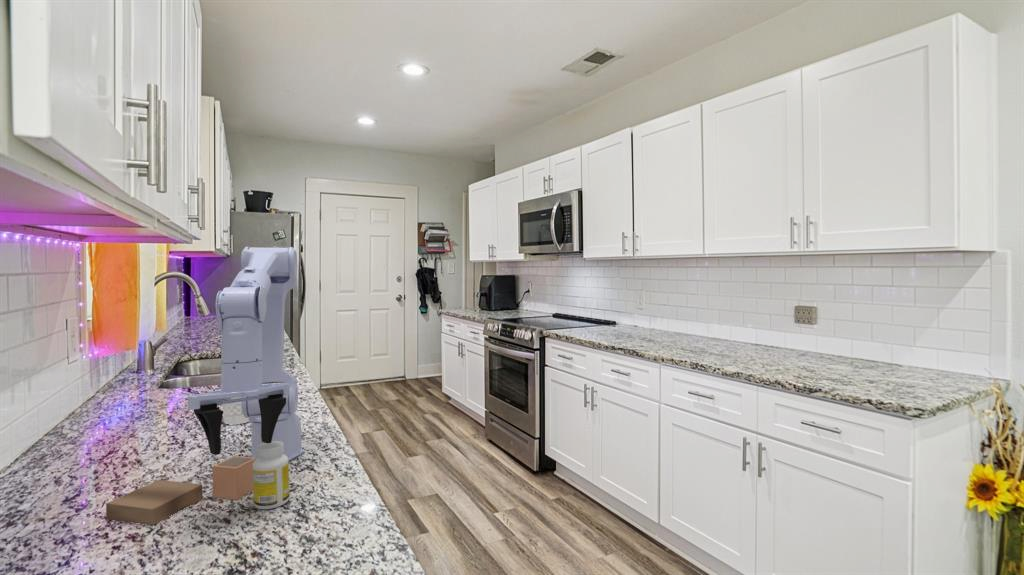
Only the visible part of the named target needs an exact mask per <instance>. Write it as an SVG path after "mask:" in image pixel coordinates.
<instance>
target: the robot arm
mask: <svg viewBox="0 0 1024 575" xmlns="http://www.w3.org/2000/svg"><path fill="white" fill-rule="evenodd" d="M240 254H241V255H240V256H241V257H240V265H241V266H240V267H241V270H240V271H239V272H237V275H236V276H235V277H234V280H233V281H232V282H231V285H230V286H228V287H227V286H226V287H224V288H223V289H222V290H219V291H218V292H217V294H216V297H215V313H216V314H215V315H216V319H217V330H218V334H221V336H220V337H221V339H220V342H221V344H220V345H221V347H220V349H221V351H220V354H221V355H220V357H221V359H220V361H221V362H220V364H221V365H220V366H221V368H220V370H221V371H220V374H221V376H220V384H221V385H220V389H219V390H214V391H208V392H203V393H197V394H192V395H191V394H190V395H187V409H189V410H192V411H193V413H194V415H195V416H196V419H197V420H198V422H199V423H200V425H201V427H202V429H203V431H204V433H205V436H206V439H207V443H208V447H209V451H210V454H212V455H213V456H218V455H221V453H222V452H221V451H222V441H221V440H222V438H221V433H222V421H223V418H224V417H223V415H224V414H223V409H220V407H219V406H222V404H229V403H236V402H241V409H242V414H243V415H244V416H245V417H246V418H249V423H250V424H251V427H250V428H251V430H250V431H251V457H252V458H259V457H258V456H257V447H258V446H259V445H260V444H263V443H267V444H268V443H271V442H272V441H280V442H283V447H284V450H283V453H282V454H284V455H286V456H287V457H288V462H289V461H291V460H293V459H295V458H297V457H299V456H300V455H302V454H304V453H305V452H306V450H305V449H302V422H301V420H300V418H299V416H298V415H297V413H296V412H297V410H298V406H299V405H298V404H299V391H298V389H299V388H298V379H297V378H296V376H295V375H294V374H293V373H291V372H289V371H288V370H286V369H285V368H284V348H285V347H284V346H285V345H284V343H285V308H286V306H285V305H286V304H285V303H286V299H287V295H288V292H289V291H290V290H291V291H292V290H294V289H295V288H296V284H297V278H298V256H297V255H298V254H297V251H296V249H295V248H294V247H293V246H289V247H260V246H259V247H254V246H253V247H251V246H245V247H244V248H243V249H242V250H241V253H240ZM236 397H242V398H238V399H232V398H236ZM230 399H231V400H230ZM222 400H224V401H222Z"/></svg>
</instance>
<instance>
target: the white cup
mask: <svg viewBox="0 0 1024 575" xmlns="http://www.w3.org/2000/svg"><path fill="white" fill-rule="evenodd" d="M238 398H242V397H236V398H232V399H238ZM230 400H231V399H230ZM222 401H224V400H222ZM221 407H222V411H223V417H222V418H223V424H224V423H225V424H240V423H245V422H249V418H246V417H245V416H244V415H243V414H242V409H241V402H236V403H229V404H222V405H221ZM249 423H250V422H249ZM225 424H224V425H225Z"/></svg>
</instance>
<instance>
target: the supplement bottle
mask: <svg viewBox="0 0 1024 575" xmlns="http://www.w3.org/2000/svg"><path fill="white" fill-rule="evenodd" d="M283 450H284V447H283V442H280V441H272V442H271V443H268V444H267V443H263V444H260V445H259V446H258V447H257V456H258V457H259V458H257V459H256V460H255V461H254V463H253V491H252V492H253V505H254V507H255V508H256V509H259V510H271V509H275V508H278V507H280V506H282V505H286V503H287V502H288V501H289V500H290V469H289V468H290V467H289V466H290V465H289V463H290V462H289V461H288V457H287V456H286V455H284V454H282V453H283Z"/></svg>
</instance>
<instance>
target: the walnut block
mask: <svg viewBox="0 0 1024 575" xmlns="http://www.w3.org/2000/svg"><path fill="white" fill-rule="evenodd" d="M202 500H203V484H202V483H201V484H200V483H194V482H193V483H192V482H182V481H176V480H175V481H173V480H165V479H164V480H163V479H158V480H156V481H153V482H151V483H148V484H147V485H144V486H142V487H139V488H138V489H135V490H133V491H131V492H129V493H126V494H124V495H122V496H119V497H118V498H115V499H113V500H110V501H108V502H106V503H105V511H106V512H105V513H106V514H105V515H106V520H107V519H109V520H108V521H112V520H115V521H114V522H119V521H124V522H123V523H126V522H133V523H132V524H134V523H140V524H139V525H141V524H147V525H146V526H148V525H150V526H149V527H154V526H156V525H157V523H158V524H159V522H160V521H162V520H163V521H165V520H167V519H168V518H167V517H169V516H171V515H173V514H175V513H176V514H178V513H179V512H178V511H180V510H182V511H184V510H185V509H184V508H186V507H188V506H189V507H191V506H193V505H195V504H197V503H199V502H200V501H202ZM196 502H197V503H196ZM190 505H191V506H190ZM189 507H188V508H189ZM183 509H184V510H183ZM186 509H187V508H186ZM177 512H178V513H177ZM180 512H181V511H180ZM176 514H175V515H176ZM173 516H174V515H173ZM171 517H172V516H171ZM166 518H167V519H166ZM169 518H170V517H169ZM164 519H165V520H164ZM163 521H162V522H163ZM160 523H161V522H160ZM155 524H156V525H155ZM153 525H154V526H153Z"/></svg>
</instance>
